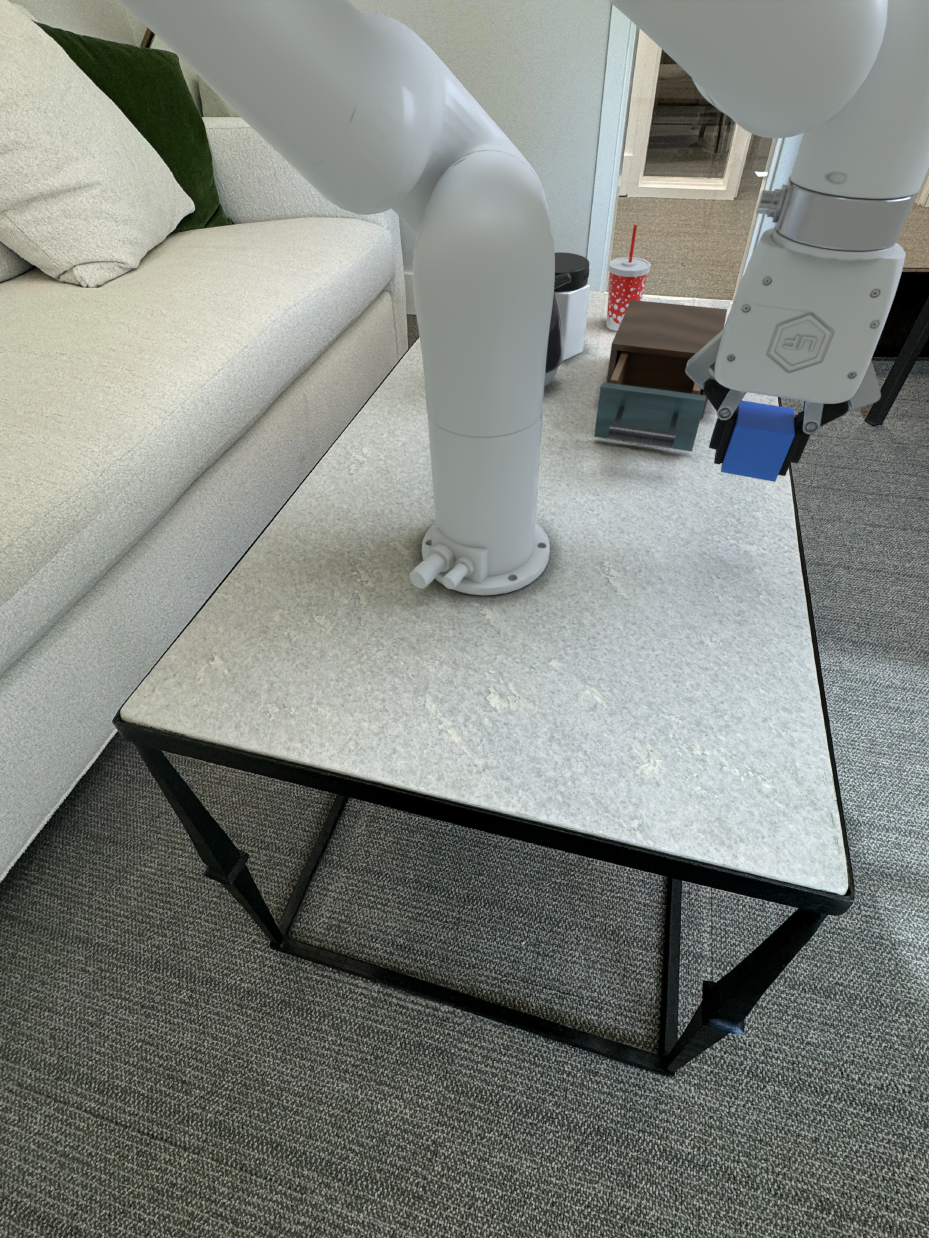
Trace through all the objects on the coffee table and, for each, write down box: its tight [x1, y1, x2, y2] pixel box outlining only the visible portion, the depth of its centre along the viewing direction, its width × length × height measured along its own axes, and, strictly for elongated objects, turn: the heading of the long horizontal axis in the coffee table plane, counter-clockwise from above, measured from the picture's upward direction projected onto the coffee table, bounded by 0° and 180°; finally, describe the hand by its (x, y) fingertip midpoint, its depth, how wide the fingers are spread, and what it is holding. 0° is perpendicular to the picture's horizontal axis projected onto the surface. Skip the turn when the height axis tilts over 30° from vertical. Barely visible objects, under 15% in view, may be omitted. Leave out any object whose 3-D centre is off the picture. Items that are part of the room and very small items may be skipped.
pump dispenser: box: [544, 273, 571, 388], centre depth 83 cm, size 10×10×15 cm
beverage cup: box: [605, 224, 652, 332], centre depth 96 cm, size 6×6×14 cm
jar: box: [554, 251, 591, 362], centre depth 92 cm, size 9×8×12 cm
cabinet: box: [605, 300, 728, 420], centre depth 84 cm, size 15×13×8 cm
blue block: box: [720, 400, 795, 483], centre depth 54 cm, size 4×4×4 cm
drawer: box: [593, 351, 706, 452], centre depth 76 cm, size 20×11×6 cm, turn 161°
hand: (750, 459), depth 55 cm, fingers closed on blue block, 4 cm apart
